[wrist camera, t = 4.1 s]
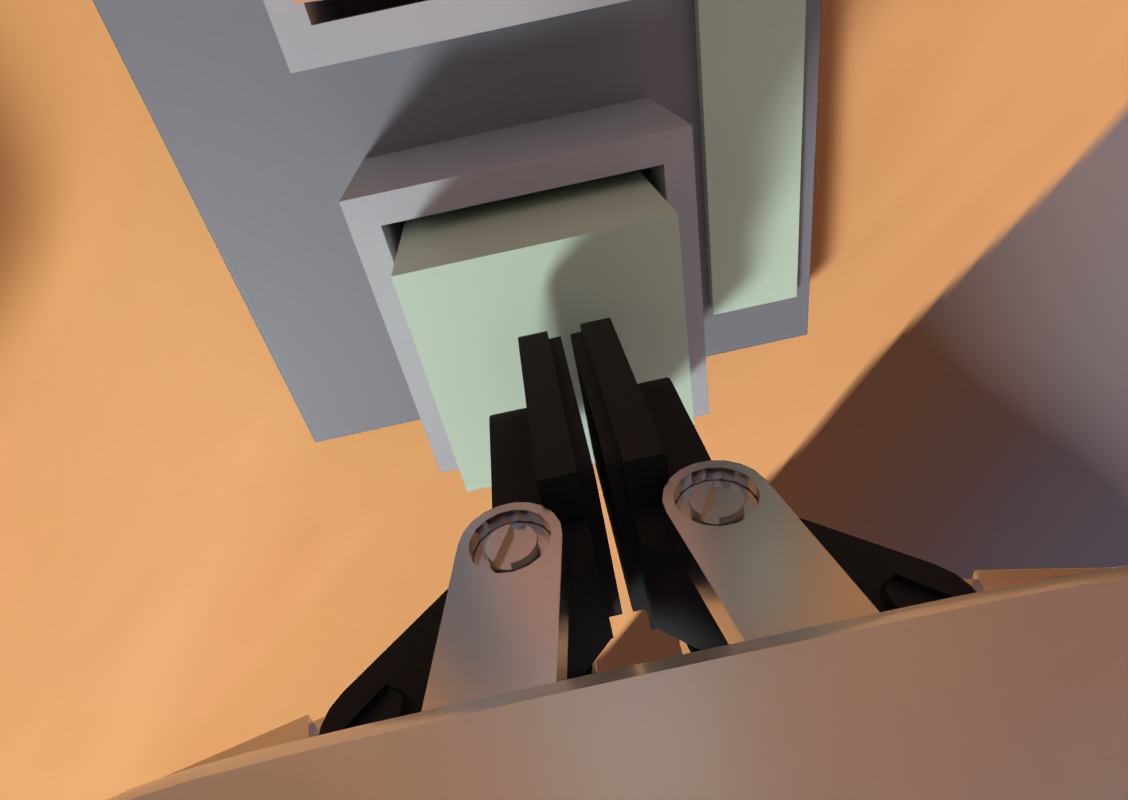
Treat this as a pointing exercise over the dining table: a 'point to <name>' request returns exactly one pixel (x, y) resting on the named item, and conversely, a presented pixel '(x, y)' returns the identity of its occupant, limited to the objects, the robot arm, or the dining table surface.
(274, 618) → the dining table surface
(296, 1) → the terracotta button
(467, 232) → the green button
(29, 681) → the dining table surface
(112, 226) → the dining table surface
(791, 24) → the button board
